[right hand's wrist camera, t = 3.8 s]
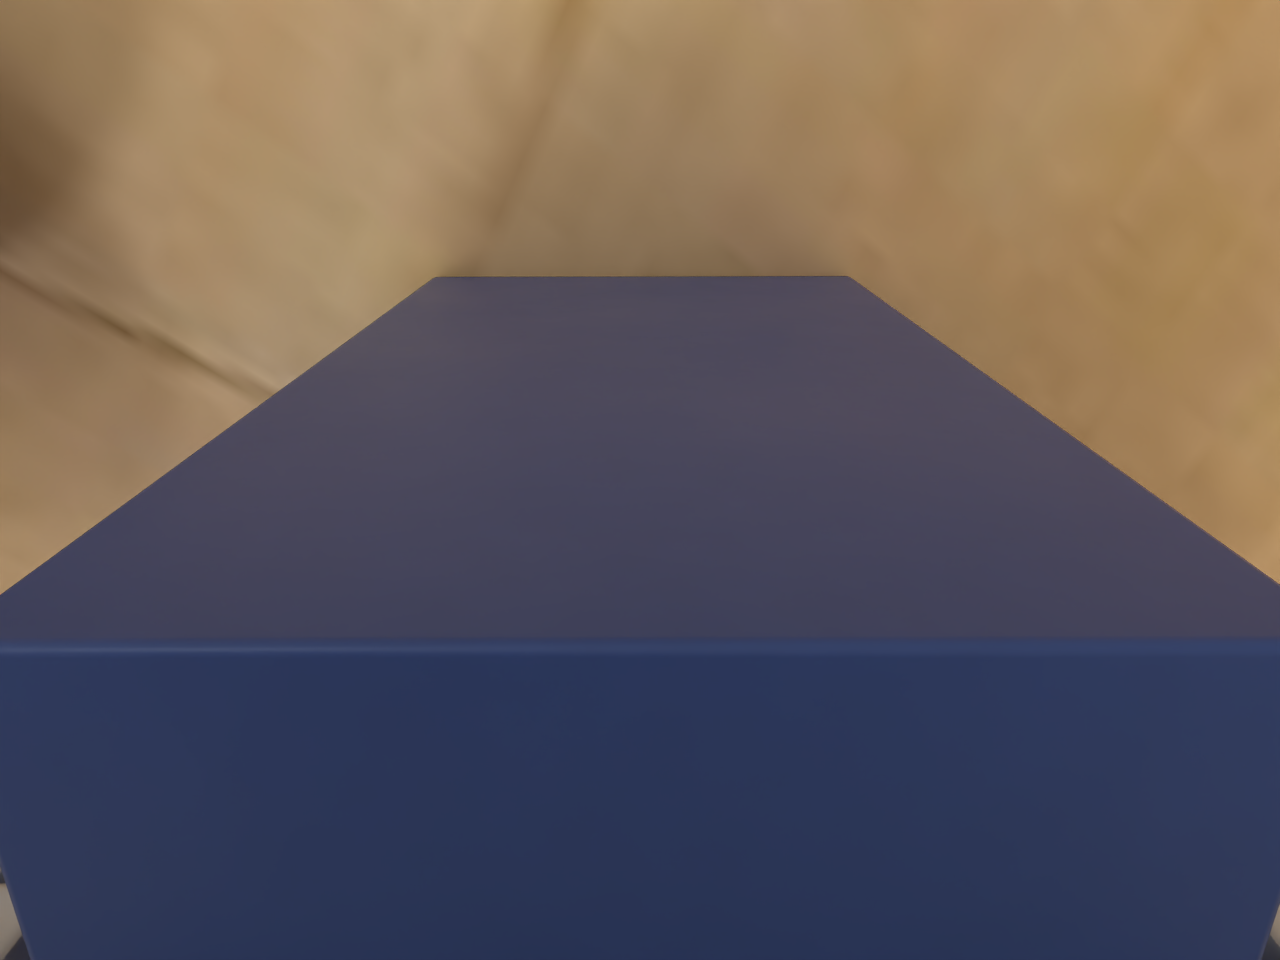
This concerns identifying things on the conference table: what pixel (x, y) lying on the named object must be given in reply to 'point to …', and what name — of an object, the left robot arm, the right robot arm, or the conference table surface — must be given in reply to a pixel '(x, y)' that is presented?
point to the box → (642, 661)
